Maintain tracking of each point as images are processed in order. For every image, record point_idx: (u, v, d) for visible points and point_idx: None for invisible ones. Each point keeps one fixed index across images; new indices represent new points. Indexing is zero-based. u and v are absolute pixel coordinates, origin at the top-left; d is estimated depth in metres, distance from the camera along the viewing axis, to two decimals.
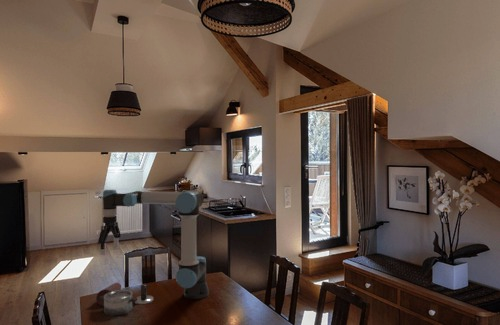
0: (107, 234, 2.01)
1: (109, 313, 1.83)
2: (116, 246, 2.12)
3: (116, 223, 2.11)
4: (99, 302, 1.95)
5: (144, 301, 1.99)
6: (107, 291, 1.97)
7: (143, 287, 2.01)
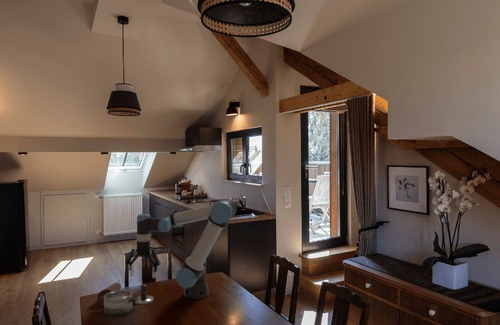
0: (135, 257, 2.02)
1: (109, 313, 1.83)
2: None
3: (151, 250, 2.00)
4: (100, 302, 1.95)
5: (144, 301, 1.99)
6: (108, 291, 1.97)
7: (143, 287, 2.01)
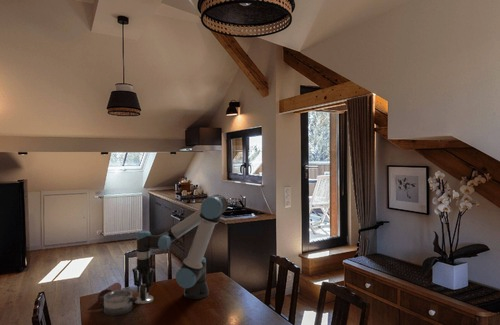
0: (139, 277, 2.02)
1: (109, 313, 1.83)
2: None
3: (151, 270, 2.01)
4: (101, 302, 1.96)
5: (144, 301, 1.99)
6: (109, 291, 1.97)
7: (143, 287, 2.01)
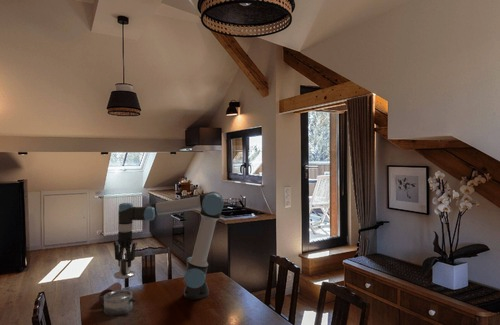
0: (120, 251, 1.93)
1: (109, 313, 1.83)
2: None
3: (133, 244, 1.91)
4: (102, 302, 1.96)
5: (124, 275, 1.90)
6: (110, 291, 1.97)
7: (124, 261, 1.92)
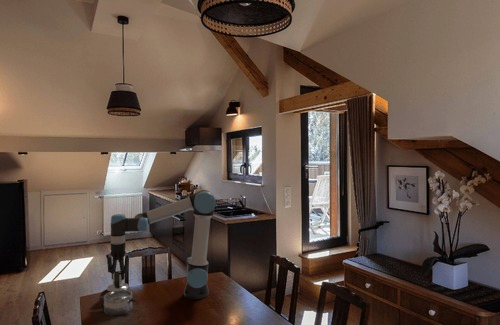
0: (113, 263, 1.89)
1: (109, 313, 1.83)
2: None
3: (126, 256, 1.88)
4: (102, 302, 1.96)
5: (118, 288, 1.86)
6: None
7: (117, 274, 1.88)
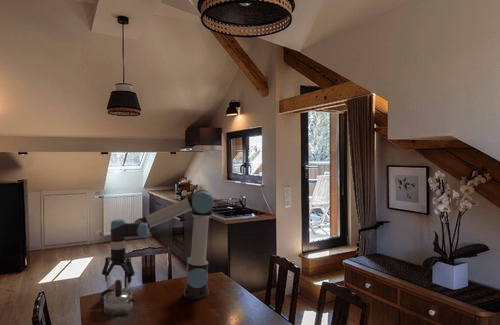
0: (110, 267, 1.89)
1: (109, 313, 1.83)
2: None
3: (126, 259, 1.88)
4: (103, 302, 1.96)
5: (118, 297, 1.86)
6: (111, 291, 1.97)
7: (118, 282, 1.88)
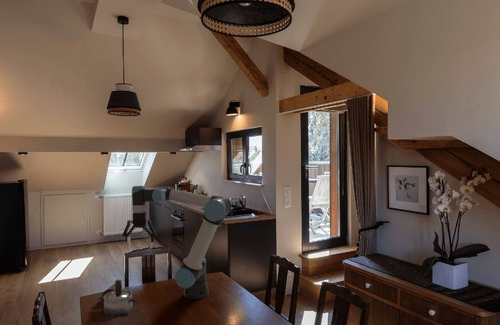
0: (131, 229, 2.03)
1: (109, 313, 1.83)
2: None
3: (147, 221, 2.02)
4: None
5: (118, 297, 1.86)
6: (112, 290, 1.98)
7: (117, 282, 1.88)
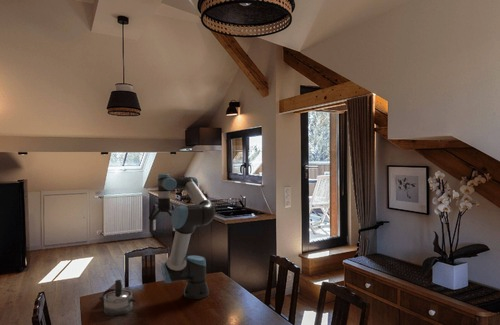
0: (156, 213, 2.24)
1: (109, 313, 1.83)
2: None
3: (171, 206, 2.23)
4: None
5: (118, 297, 1.86)
6: (113, 290, 1.98)
7: (117, 282, 1.88)
